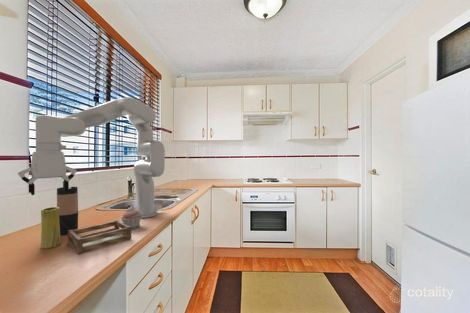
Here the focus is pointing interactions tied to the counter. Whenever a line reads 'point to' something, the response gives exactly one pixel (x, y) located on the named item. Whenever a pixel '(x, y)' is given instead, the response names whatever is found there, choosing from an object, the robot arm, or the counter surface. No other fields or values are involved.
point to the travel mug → (67, 209)
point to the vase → (50, 227)
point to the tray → (98, 236)
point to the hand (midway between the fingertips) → (49, 192)
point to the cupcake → (131, 217)
